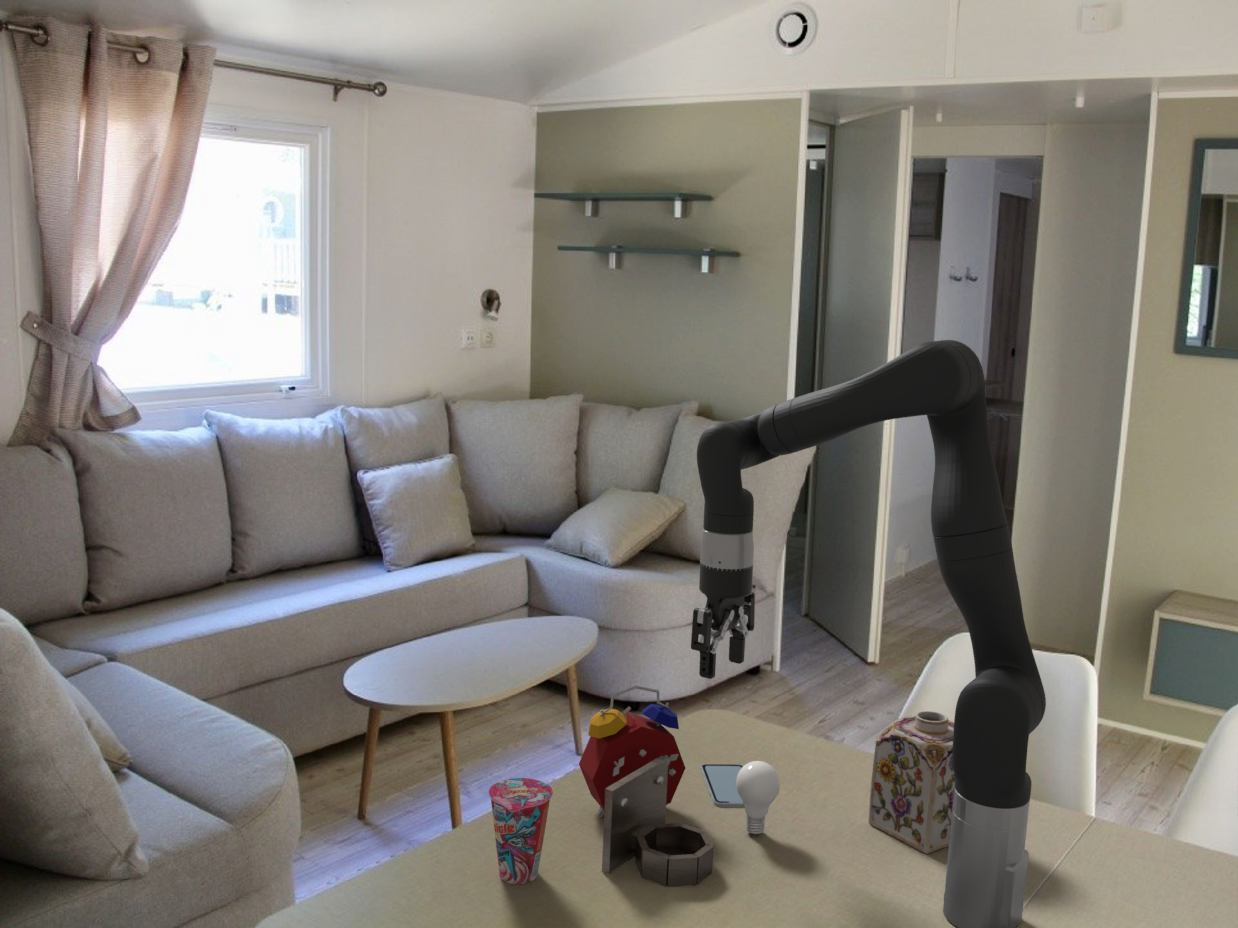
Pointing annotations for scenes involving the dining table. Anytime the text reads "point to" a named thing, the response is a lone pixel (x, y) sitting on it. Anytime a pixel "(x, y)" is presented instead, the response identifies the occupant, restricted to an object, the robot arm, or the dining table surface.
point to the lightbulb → (757, 792)
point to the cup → (519, 826)
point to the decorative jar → (914, 781)
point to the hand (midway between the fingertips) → (722, 669)
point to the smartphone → (723, 784)
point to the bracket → (652, 831)
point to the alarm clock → (629, 746)
